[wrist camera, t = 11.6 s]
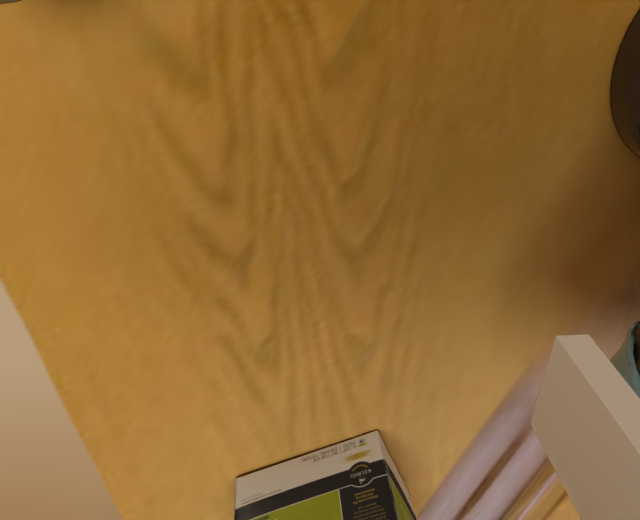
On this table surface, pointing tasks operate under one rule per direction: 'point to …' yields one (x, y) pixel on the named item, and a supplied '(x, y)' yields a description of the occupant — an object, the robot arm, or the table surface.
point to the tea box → (328, 486)
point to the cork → (8, 1)
